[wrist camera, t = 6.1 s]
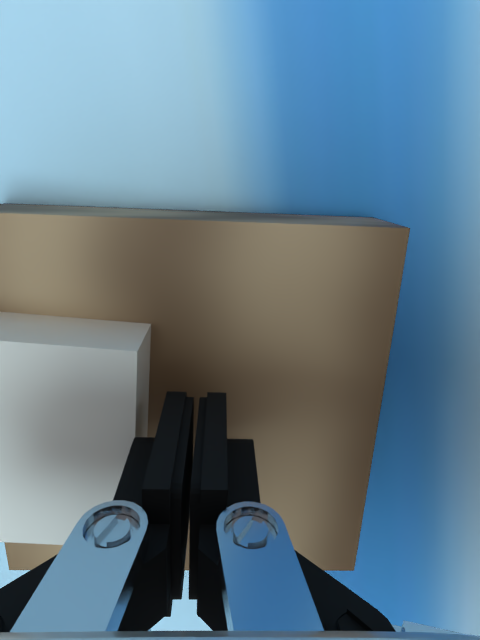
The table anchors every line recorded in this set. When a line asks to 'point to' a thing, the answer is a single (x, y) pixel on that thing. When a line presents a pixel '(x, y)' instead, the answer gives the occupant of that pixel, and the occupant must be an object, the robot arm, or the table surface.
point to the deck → (236, 336)
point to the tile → (66, 418)
